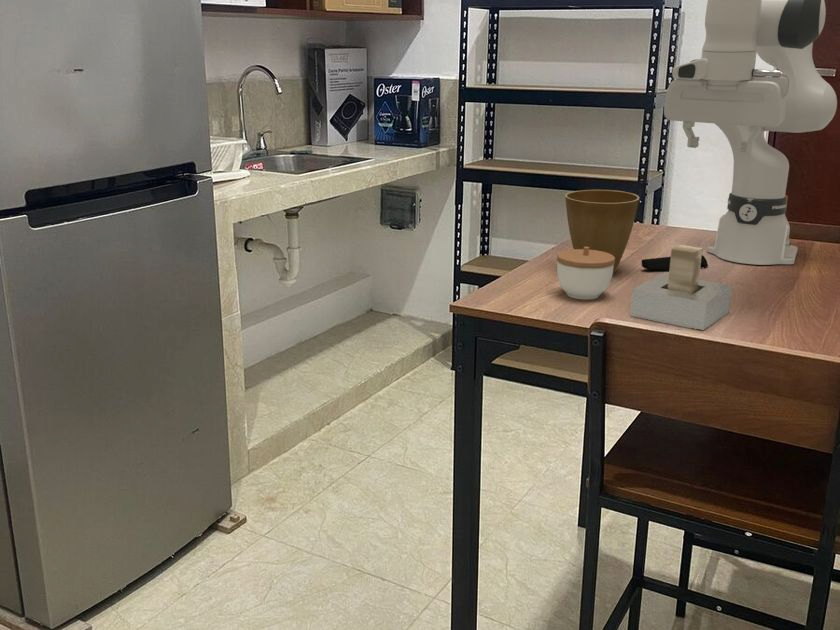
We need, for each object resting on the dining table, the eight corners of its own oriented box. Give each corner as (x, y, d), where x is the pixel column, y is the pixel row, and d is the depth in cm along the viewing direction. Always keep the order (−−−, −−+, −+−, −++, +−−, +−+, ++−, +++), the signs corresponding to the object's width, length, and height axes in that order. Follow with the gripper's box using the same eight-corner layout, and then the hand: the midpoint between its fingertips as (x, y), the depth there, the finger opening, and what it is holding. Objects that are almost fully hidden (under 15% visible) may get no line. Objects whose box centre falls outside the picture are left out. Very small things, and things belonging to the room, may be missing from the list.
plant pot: (576, 258, 188) (581, 187, 183) (642, 268, 180) (649, 193, 176) (549, 273, 176) (553, 197, 171) (618, 284, 169) (624, 204, 164)
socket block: (659, 299, 159) (661, 273, 157) (728, 312, 152) (732, 285, 150) (630, 315, 149) (632, 288, 148) (703, 331, 142) (706, 302, 140)
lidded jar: (599, 306, 154) (603, 256, 151) (545, 297, 160) (548, 248, 157) (619, 293, 163) (623, 245, 160) (567, 284, 168) (570, 238, 165)
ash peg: (673, 309, 153) (680, 244, 149) (694, 313, 151) (702, 248, 147) (664, 314, 150) (671, 248, 146) (686, 319, 148) (694, 252, 144)
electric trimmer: (636, 271, 180) (637, 256, 179) (698, 264, 185) (699, 250, 184) (646, 275, 177) (647, 260, 176) (709, 269, 181) (710, 254, 180)
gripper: (795, 69, 142) (784, 152, 146) (677, 65, 153) (670, 142, 158) (785, 71, 137) (774, 157, 142) (663, 68, 149) (657, 147, 153)
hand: (718, 149), depth 150 cm, fingers open, 8 cm apart
